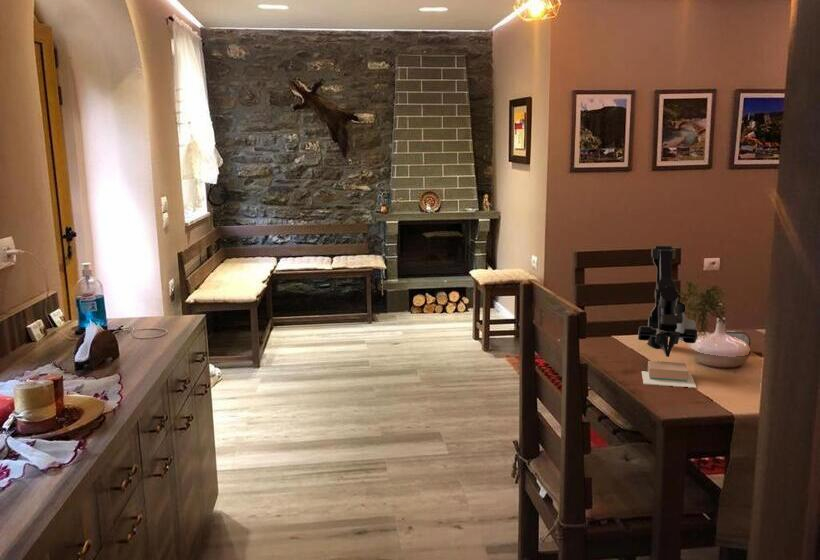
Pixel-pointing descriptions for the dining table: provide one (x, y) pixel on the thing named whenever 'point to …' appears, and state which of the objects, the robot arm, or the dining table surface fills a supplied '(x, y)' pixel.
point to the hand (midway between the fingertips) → (667, 356)
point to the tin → (739, 335)
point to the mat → (668, 381)
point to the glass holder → (684, 319)
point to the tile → (667, 371)
